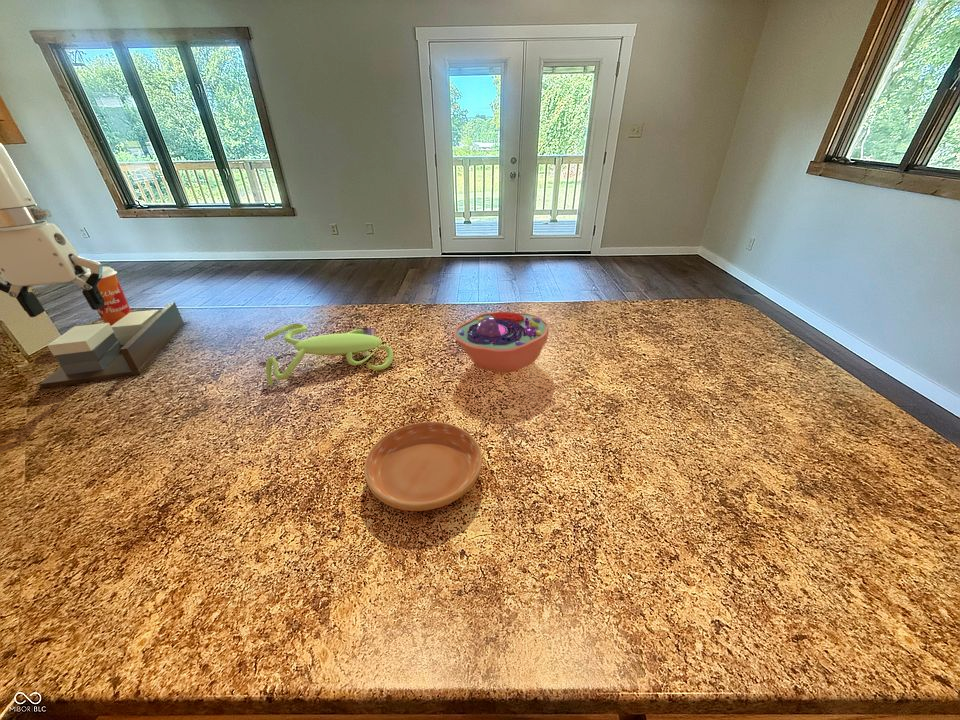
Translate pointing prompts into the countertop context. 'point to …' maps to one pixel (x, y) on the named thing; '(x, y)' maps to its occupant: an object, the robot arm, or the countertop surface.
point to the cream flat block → (80, 339)
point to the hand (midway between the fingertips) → (69, 310)
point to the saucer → (423, 466)
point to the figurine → (328, 347)
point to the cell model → (502, 340)
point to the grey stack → (91, 357)
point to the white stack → (132, 324)
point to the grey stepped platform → (129, 351)
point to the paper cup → (111, 297)
